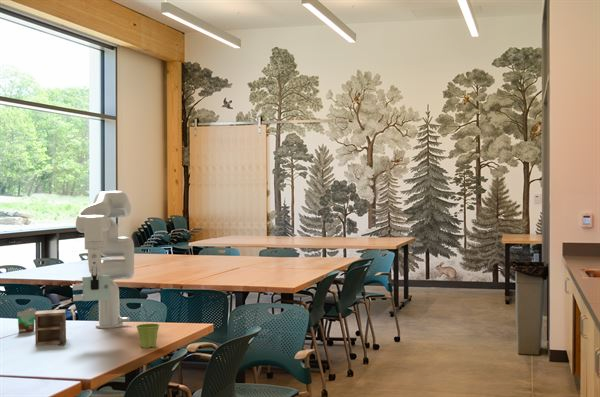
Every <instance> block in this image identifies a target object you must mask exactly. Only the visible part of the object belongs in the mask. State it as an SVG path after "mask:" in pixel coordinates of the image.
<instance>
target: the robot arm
mask: <svg viewBox="0 0 600 397" xmlns="http://www.w3.org/2000/svg"><path fill="white" fill-rule="evenodd" d="M131 208H132V206H131V203H130V200H129V197H128V195H127V193H125V192H124V191H121V190H109V191H107V190H106V191H103V190H102V191H100V192H98V193H97V194H96V195H95V197H94V200H93V204H90V205H88V206H86V207H84V208H82V209H81V210H80V211H79V212H78V213H77V216H76V219H75V229H76V230H77V232H79V233H81V234H84V235H83V236H84V250H86V251H87V265H88V271H89V273H90V276H91V290H98V289H99V280H98V276H106V275H109V281H110V299H108V300H98V323H96V324H95V327H96V328H97V329H114V328H121V327H123V325H124V323H125V322H130V320H131V319H130V317H126V316H125V317H122V316H121V315H120V314H121V313H120V287H119V286H118V284H117V283H116V282H115V281H117V280H130V279H133V277H134V274H135V244H134V240H133V238H132V237H130V236H119V226H118V224H117V223H116V222H115V220H114V219H113V218H127V217H129V216H130V215H131V210H132V209H131ZM102 257H104V258H105V257H106V258H112V259H102ZM117 257H118V258H121V257H122V258H121V259H113V258H117ZM123 258H124V259H123ZM92 277H93V278H92Z"/></svg>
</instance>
